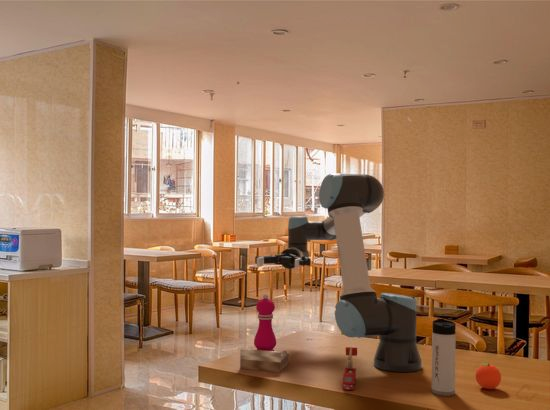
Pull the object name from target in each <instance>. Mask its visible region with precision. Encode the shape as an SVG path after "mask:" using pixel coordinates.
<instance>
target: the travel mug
mask: <svg viewBox="0 0 550 410" xmlns="http://www.w3.org/2000/svg"><path fill="white" fill-rule="evenodd" d="M456 327H457V326H456V323H455V322H454V321H452V320H449V319H444V318H437V319H435V320H433V321H432V333H431V339H432V340H431V348H432V349H431V392H432V394H435V395H437V396H441V397H442V396H443V397H451V395H452V396H454V395H455V394H456V347H457V346H456V344H457V343H456V341H457V340H456V339H457V338H456V335H457V334H456V333H457V332H456Z"/></svg>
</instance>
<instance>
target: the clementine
mask: <svg viewBox="0 0 550 410" xmlns="http://www.w3.org/2000/svg"><path fill="white" fill-rule="evenodd" d="M479 365H480V366H479ZM478 366H479V367H478ZM476 367H478V368H477V369H476V371H475V381H476V383H478V385H479V386H480V387H482V388H483V389H486V390H493V389H495V388H498V386H499V385H500V384H501V381H502V374H501V372H500V370H499V369H498V367H496V366H495V365H493V364H490V363H480V364H476V365H475V366H474V367H473V369H475V368H476Z"/></svg>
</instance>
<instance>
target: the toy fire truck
mask: <svg viewBox="0 0 550 410" xmlns="http://www.w3.org/2000/svg"><path fill="white" fill-rule="evenodd" d="M345 356H347V360H346V362H347V363H346V364H347V367H345V369H344V372H343V375H342V389H343V390H349V391H351V390H353V391H354V390H355V389H356V388H355V385H356V383H357V377H356V374H357V369H356V367H355V368H354V367H353V366H354V365H353V357H357V356H358V347H352V346H351V347H350V346H349V347H347V346H346V347H345Z"/></svg>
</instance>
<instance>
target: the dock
mask: <svg viewBox="0 0 550 410" xmlns="http://www.w3.org/2000/svg"><path fill="white" fill-rule="evenodd" d="M239 355H240V357H239V358H240V359H239V364H240V365H239V369H243V370H250V371H251V370H252V371H253V370H254V371H265V372H275V373H280V372H282V371H283V370H284V369H285V368H286V367H287V365H288V364H289V361H290V359H289V358H290V357H289V356H290V354H289V353H288V351H287V350H283V351H279V350H278V351H275V350H274V351H265V350H257V349H252V348H251V347H248V348H240V354H239Z"/></svg>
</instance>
